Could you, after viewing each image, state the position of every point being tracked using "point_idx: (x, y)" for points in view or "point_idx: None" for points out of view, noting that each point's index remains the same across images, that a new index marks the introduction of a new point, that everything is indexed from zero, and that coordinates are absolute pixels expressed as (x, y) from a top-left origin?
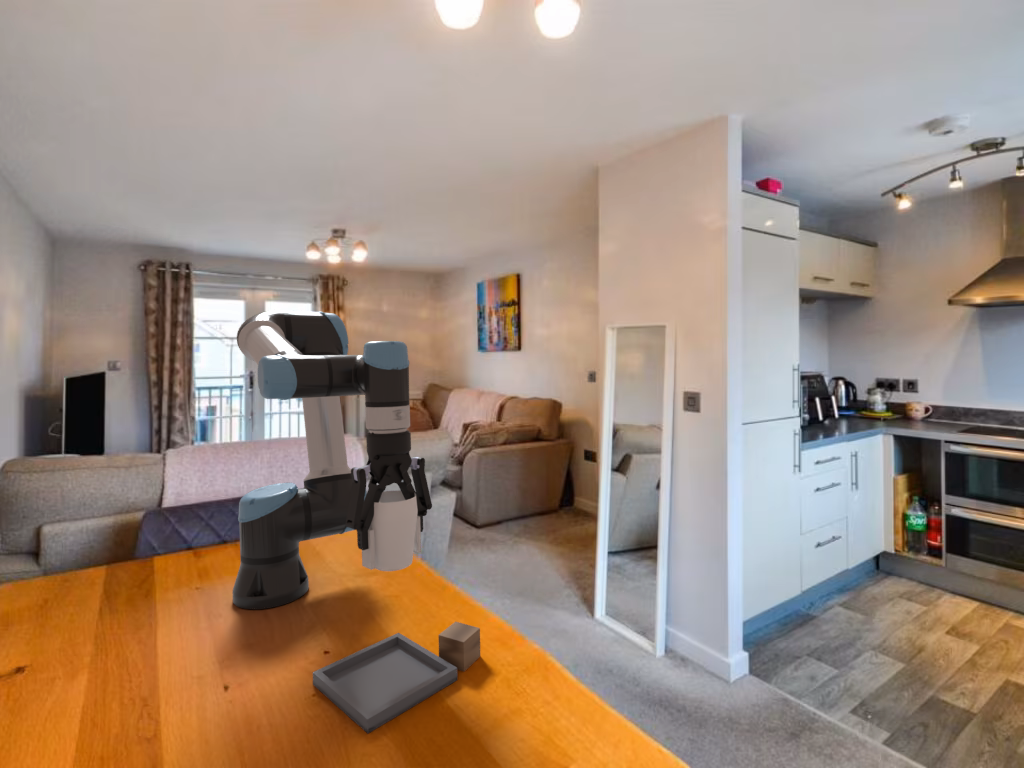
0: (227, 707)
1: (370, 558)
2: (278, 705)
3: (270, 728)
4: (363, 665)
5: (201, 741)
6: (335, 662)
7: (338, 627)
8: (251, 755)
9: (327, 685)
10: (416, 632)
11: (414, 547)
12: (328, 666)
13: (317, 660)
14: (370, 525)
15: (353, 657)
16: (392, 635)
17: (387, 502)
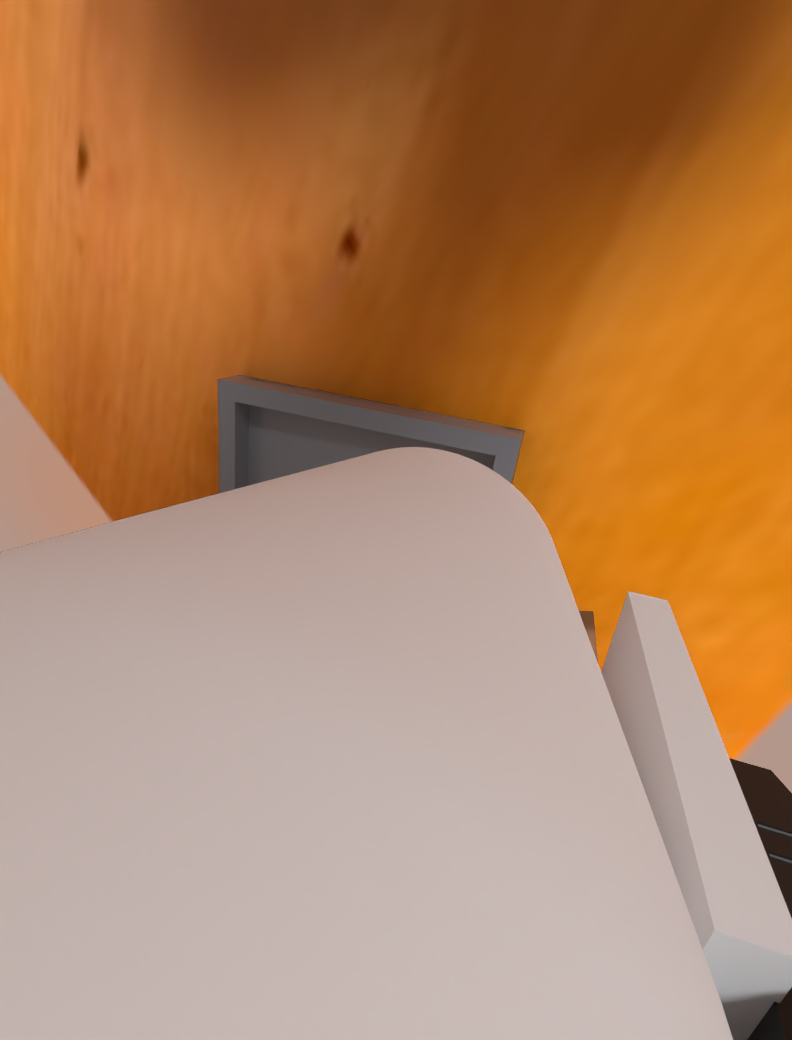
0: (70, 266)
1: None
2: (154, 373)
3: (121, 431)
4: (356, 443)
5: (18, 341)
6: (282, 395)
7: (492, 86)
8: (79, 467)
9: (219, 465)
10: (623, 431)
11: (607, 687)
12: (259, 395)
13: (305, 266)
14: None
15: (330, 421)
16: (494, 433)
17: (437, 926)
